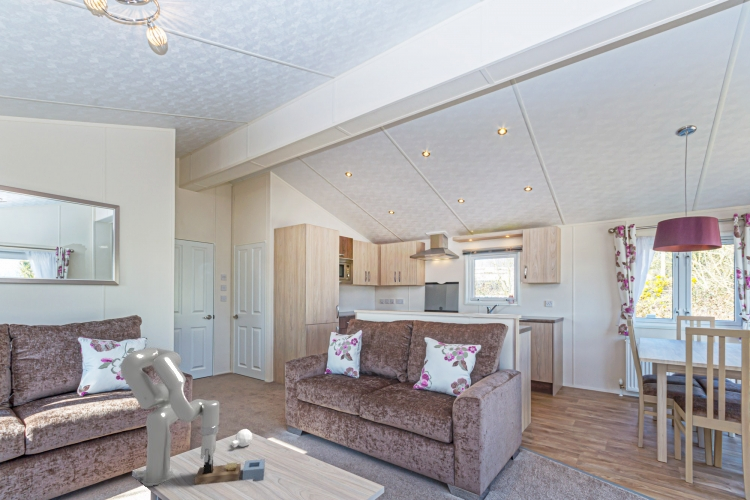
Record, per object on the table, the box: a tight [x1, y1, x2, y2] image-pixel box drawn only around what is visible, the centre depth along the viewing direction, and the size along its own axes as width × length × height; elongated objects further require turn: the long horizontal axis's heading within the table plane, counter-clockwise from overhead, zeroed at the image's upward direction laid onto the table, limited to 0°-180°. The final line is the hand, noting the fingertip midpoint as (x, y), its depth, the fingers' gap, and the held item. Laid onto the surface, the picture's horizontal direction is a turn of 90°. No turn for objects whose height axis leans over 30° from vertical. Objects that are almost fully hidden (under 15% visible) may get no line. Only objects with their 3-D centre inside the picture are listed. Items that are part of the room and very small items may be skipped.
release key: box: [225, 462, 238, 472], centre depth 178 cm, size 4×4×5 cm
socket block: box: [194, 463, 242, 486], centre depth 177 cm, size 18×10×4 cm, turn 103°
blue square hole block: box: [242, 458, 266, 482], centre depth 180 cm, size 9×10×5 cm
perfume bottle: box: [231, 428, 253, 448], centre depth 213 cm, size 9×9×12 cm
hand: (208, 470), depth 176 cm, fingers closed on steel peg, 3 cm apart
